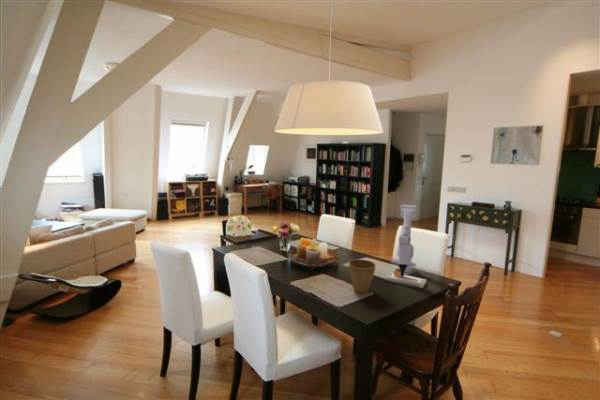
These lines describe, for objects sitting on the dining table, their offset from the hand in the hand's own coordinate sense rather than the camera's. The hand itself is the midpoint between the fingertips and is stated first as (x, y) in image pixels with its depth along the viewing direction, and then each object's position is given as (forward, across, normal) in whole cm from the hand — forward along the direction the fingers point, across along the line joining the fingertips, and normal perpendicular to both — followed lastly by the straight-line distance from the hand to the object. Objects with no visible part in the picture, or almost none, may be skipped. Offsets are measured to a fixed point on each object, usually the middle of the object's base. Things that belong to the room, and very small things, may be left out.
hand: (402, 275), depth 203 cm
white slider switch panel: (+3, +2, 0) cm, 4 cm away
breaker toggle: (+1, -3, 0) cm, 3 cm away
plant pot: (+3, -15, -29) cm, 33 cm away
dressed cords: (+3, +2, 0) cm, 4 cm away
